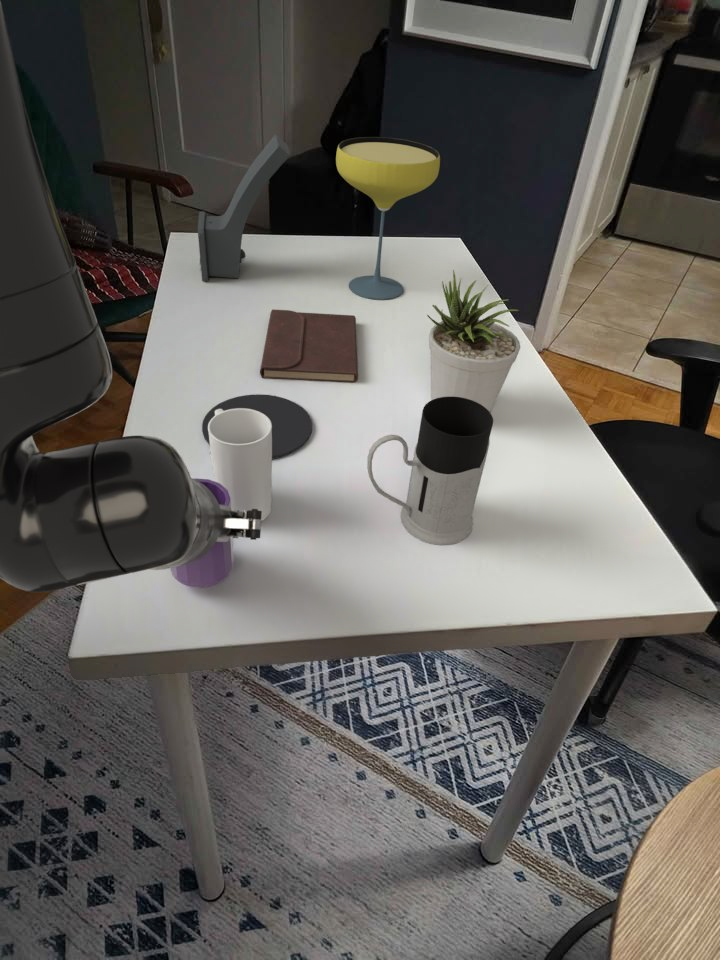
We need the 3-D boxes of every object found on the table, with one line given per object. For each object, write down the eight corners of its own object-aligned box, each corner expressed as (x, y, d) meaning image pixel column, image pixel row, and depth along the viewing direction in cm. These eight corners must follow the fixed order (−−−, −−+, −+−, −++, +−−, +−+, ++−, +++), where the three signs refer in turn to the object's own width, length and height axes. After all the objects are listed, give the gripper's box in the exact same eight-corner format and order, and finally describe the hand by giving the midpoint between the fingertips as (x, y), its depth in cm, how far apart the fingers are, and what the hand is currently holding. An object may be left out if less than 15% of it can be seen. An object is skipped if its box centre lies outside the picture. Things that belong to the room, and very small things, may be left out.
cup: (175, 594, 65) (165, 529, 59) (165, 548, 69) (155, 485, 63) (240, 579, 67) (236, 516, 61) (226, 536, 71) (222, 473, 65)
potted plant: (475, 378, 104) (502, 255, 91) (517, 427, 94) (554, 297, 81) (403, 386, 100) (420, 260, 87) (438, 438, 90) (463, 304, 77)
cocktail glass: (341, 264, 135) (349, 132, 119) (427, 277, 133) (446, 144, 117) (320, 299, 121) (325, 155, 105) (414, 314, 119) (434, 170, 103)
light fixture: (290, 283, 126) (291, 147, 111) (199, 282, 123) (187, 143, 108) (287, 261, 134) (287, 131, 119) (201, 260, 132) (189, 127, 116)
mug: (284, 515, 76) (283, 433, 68) (232, 536, 73) (225, 452, 65) (244, 468, 82) (240, 388, 75) (195, 485, 79) (185, 403, 71)
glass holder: (486, 536, 76) (515, 433, 66) (374, 562, 72) (387, 455, 62) (452, 489, 82) (474, 388, 72) (347, 510, 78) (356, 406, 68)
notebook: (355, 323, 115) (356, 313, 114) (357, 382, 100) (358, 371, 99) (270, 319, 114) (270, 308, 113) (260, 378, 99) (259, 366, 98)
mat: (215, 469, 82) (214, 466, 81) (193, 405, 92) (192, 402, 92) (327, 449, 87) (327, 446, 86) (294, 390, 97) (294, 388, 97)
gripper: (261, 475, 51) (273, 489, 67) (72, 466, 50) (132, 483, 66) (256, 572, 50) (270, 562, 66) (64, 565, 49) (127, 557, 65)
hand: (201, 523), depth 66 cm, fingers closed on cup, 6 cm apart
